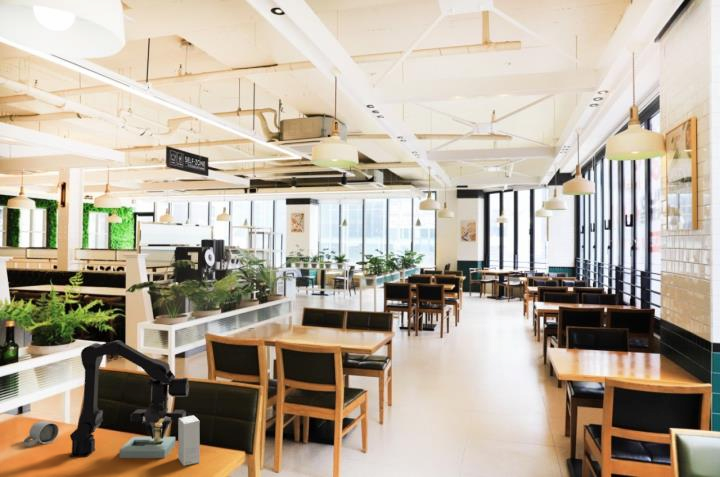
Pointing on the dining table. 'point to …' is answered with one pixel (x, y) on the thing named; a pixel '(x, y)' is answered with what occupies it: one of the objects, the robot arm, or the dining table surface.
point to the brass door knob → (157, 434)
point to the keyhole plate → (147, 448)
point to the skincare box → (188, 440)
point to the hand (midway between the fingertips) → (157, 438)
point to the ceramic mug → (42, 433)
